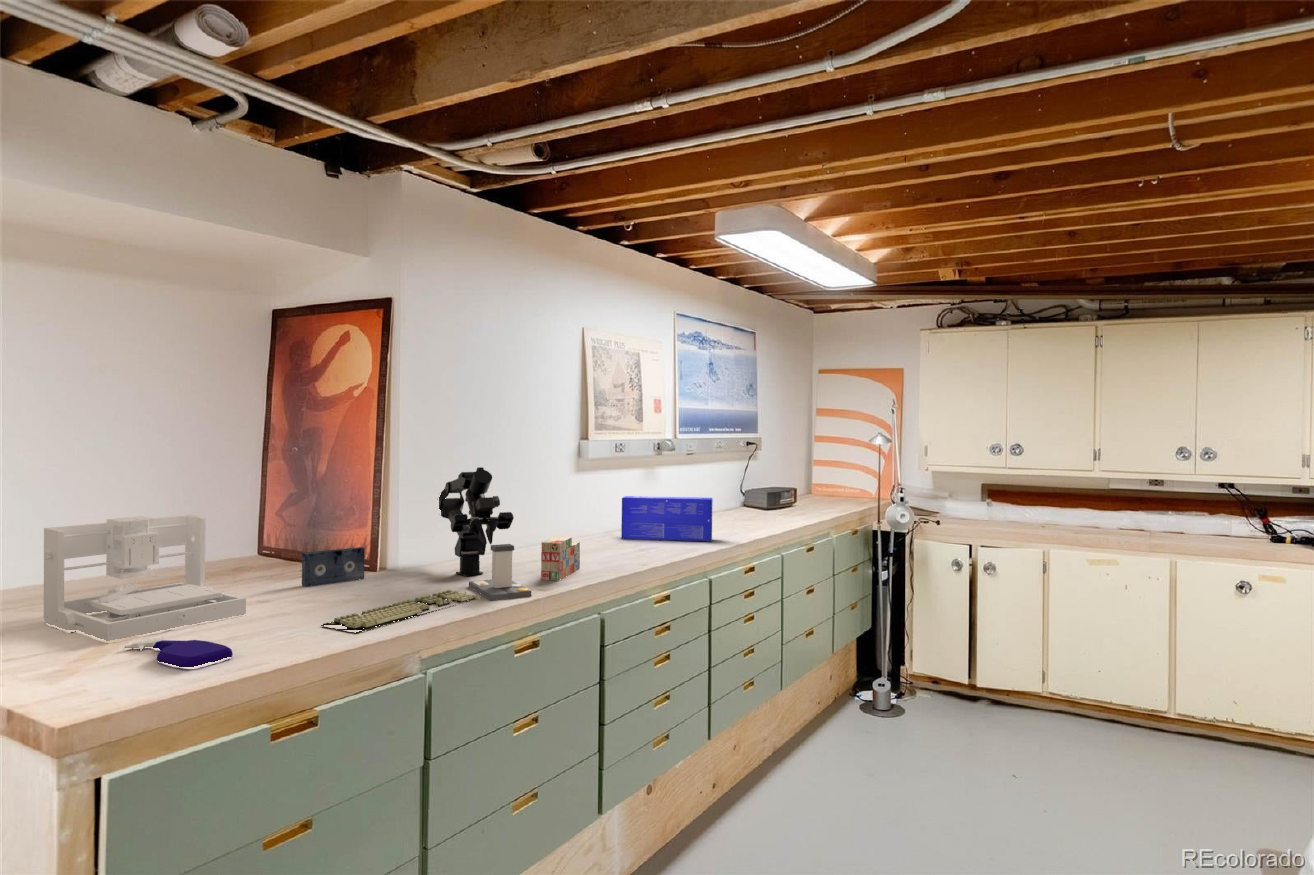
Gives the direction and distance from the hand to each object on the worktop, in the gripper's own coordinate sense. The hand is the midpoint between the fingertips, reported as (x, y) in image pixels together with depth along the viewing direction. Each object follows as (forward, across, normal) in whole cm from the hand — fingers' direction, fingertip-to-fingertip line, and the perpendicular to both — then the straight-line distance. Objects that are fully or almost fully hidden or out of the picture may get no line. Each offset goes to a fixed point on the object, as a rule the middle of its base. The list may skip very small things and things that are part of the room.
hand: (488, 543), depth 237 cm
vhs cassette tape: (-7, -40, +26) cm, 48 cm away
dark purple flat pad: (+36, -81, -18) cm, 90 cm away
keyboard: (+24, -30, -5) cm, 39 cm away
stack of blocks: (+5, +27, +13) cm, 30 cm away
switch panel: (+16, 0, +2) cm, 16 cm away
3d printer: (+11, -87, +8) cm, 88 cm away
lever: (+16, 0, -1) cm, 16 cm away
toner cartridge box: (-29, +99, +48) cm, 113 cm away
